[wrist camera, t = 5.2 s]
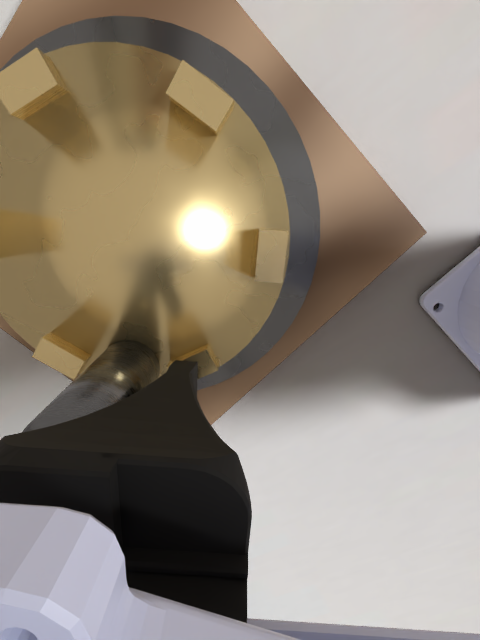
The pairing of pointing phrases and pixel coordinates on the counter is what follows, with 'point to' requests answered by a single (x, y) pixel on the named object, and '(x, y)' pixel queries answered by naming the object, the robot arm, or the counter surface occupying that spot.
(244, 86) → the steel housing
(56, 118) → the ring nut
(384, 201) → the walnut base board
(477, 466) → the counter surface
